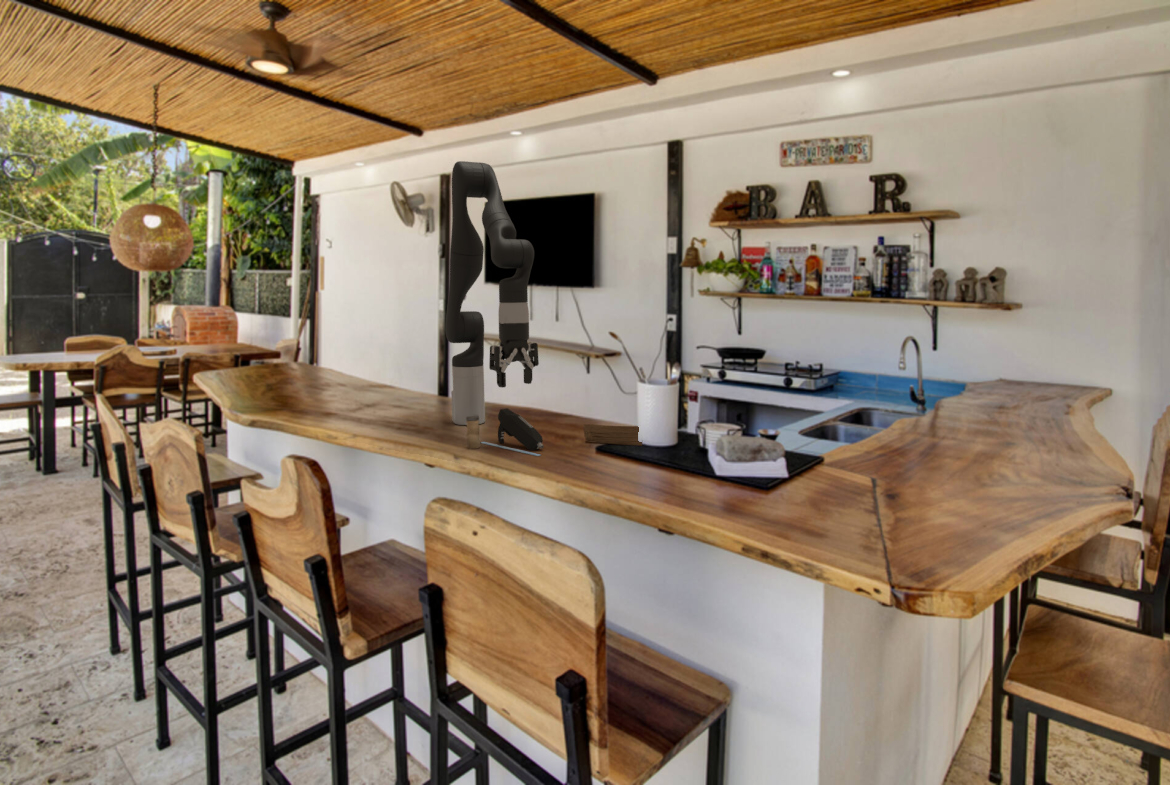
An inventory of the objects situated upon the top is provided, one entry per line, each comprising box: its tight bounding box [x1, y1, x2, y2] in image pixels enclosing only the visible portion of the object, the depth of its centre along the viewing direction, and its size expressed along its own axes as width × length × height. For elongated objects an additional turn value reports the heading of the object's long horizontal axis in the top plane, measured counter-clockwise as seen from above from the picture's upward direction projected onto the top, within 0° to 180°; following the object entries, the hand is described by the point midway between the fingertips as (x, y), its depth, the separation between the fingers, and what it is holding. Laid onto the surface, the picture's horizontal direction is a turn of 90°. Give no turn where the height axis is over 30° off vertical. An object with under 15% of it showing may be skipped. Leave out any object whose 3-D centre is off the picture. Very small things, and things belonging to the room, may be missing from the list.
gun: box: [497, 407, 544, 451], centre depth 175 cm, size 3×16×10 cm, turn 50°
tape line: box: [479, 441, 542, 457], centre depth 172 cm, size 22×1×1 cm, turn 47°
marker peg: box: [466, 415, 481, 450], centre depth 174 cm, size 3×3×8 cm
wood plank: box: [583, 423, 643, 446], centre depth 177 cm, size 15×2×5 cm, turn 74°
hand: (514, 385), depth 174 cm, fingers open, 8 cm apart
